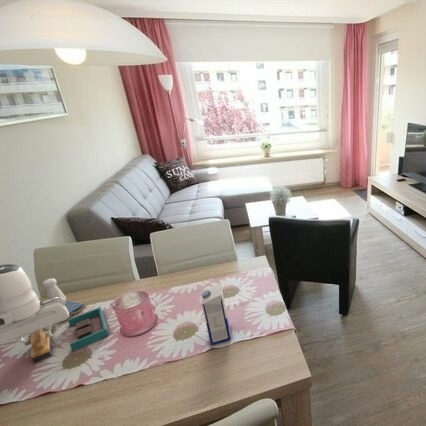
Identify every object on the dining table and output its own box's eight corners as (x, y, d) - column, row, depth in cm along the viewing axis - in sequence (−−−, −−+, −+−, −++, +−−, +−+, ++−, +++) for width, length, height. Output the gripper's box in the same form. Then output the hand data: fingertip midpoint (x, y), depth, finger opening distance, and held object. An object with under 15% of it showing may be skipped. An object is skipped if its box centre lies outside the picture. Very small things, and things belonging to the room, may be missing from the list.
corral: (72, 351, 104) (69, 344, 103) (70, 325, 116) (67, 319, 115) (108, 335, 110) (106, 329, 109) (102, 312, 123) (100, 306, 122)
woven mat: (69, 303, 130) (68, 299, 129) (87, 306, 127) (85, 303, 126) (43, 319, 120) (41, 315, 120) (62, 323, 118) (60, 319, 117)
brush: (34, 362, 100) (26, 346, 97) (35, 343, 108) (28, 327, 106) (51, 355, 102) (43, 339, 100) (51, 336, 111) (44, 321, 108)
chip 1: (78, 333, 112) (76, 328, 111) (77, 328, 115) (75, 323, 114) (91, 328, 114) (89, 323, 113) (90, 323, 117) (88, 318, 116)
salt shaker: (47, 308, 127) (35, 283, 122) (60, 300, 132) (49, 276, 127) (58, 309, 126) (47, 284, 121) (71, 301, 131) (60, 276, 126)
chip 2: (79, 342, 108) (77, 336, 107) (78, 336, 111) (76, 330, 110) (92, 336, 110) (90, 331, 109) (91, 330, 113) (89, 325, 112)
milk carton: (230, 340, 105) (221, 294, 98) (211, 345, 103) (200, 299, 96) (229, 326, 112) (220, 282, 104) (210, 331, 110) (200, 287, 102)
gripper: (61, 291, 107) (74, 321, 112) (-19, 318, 95) (-1, 350, 100) (62, 299, 103) (75, 329, 108) (-23, 328, 90) (-3, 361, 95)
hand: (38, 340), depth 104 cm, fingers open, 4 cm apart
